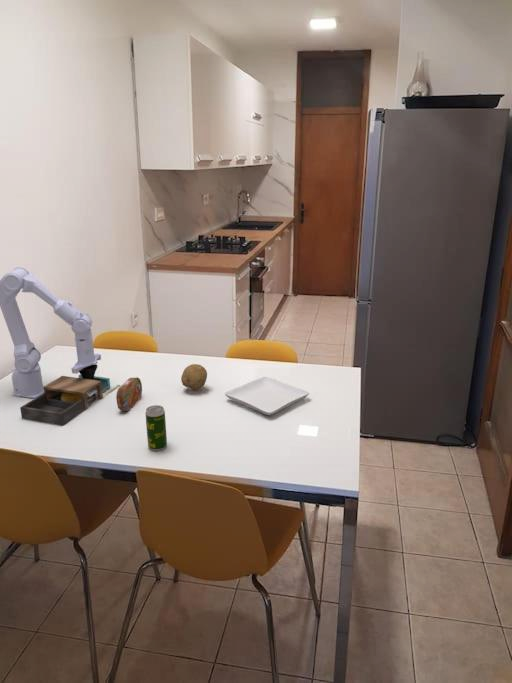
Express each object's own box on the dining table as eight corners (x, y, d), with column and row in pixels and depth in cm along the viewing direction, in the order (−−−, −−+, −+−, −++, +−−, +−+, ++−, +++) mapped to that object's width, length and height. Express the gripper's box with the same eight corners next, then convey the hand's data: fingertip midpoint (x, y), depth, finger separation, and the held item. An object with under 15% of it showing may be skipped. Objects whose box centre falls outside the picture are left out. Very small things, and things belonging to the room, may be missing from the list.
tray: (20, 418, 170) (17, 400, 168) (82, 380, 199) (80, 364, 197) (64, 425, 165) (61, 407, 163) (120, 385, 194) (118, 369, 192)
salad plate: (310, 400, 182) (311, 391, 181) (269, 422, 167) (269, 412, 166) (265, 383, 196) (264, 375, 195) (223, 402, 181) (222, 393, 180)
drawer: (47, 405, 178) (46, 395, 177) (81, 383, 195) (80, 374, 194) (78, 409, 175) (77, 399, 173) (110, 387, 192) (109, 378, 190)
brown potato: (186, 397, 184) (184, 371, 181) (178, 388, 192) (177, 362, 188) (210, 393, 187) (210, 366, 184) (202, 384, 195) (201, 358, 192)
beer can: (158, 440, 156) (156, 403, 152) (171, 446, 153) (168, 408, 149) (144, 447, 152) (141, 409, 148) (156, 453, 149) (153, 415, 145)
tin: (125, 415, 172) (122, 391, 169) (116, 414, 172) (113, 390, 169) (143, 396, 186) (141, 373, 183) (135, 395, 186) (133, 373, 183)
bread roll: (91, 402, 181) (90, 391, 180) (64, 408, 177) (63, 398, 175) (84, 393, 188) (83, 383, 187) (58, 399, 183) (56, 389, 182)
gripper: (82, 357, 177) (86, 394, 182) (106, 343, 190) (110, 378, 195) (64, 355, 179) (69, 392, 184) (89, 341, 192) (93, 376, 197)
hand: (89, 385), depth 189 cm, fingers closed
